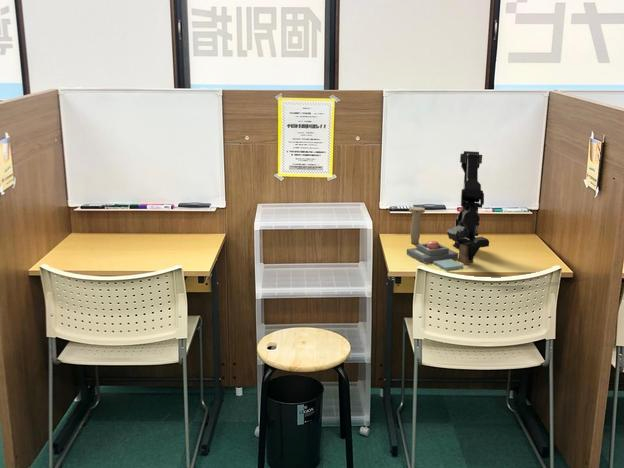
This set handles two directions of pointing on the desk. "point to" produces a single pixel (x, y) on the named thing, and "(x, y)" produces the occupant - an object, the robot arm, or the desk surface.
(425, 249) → the grey stepped block
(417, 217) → the handle
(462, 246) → the brown upright block
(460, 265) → the pad
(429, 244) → the button
